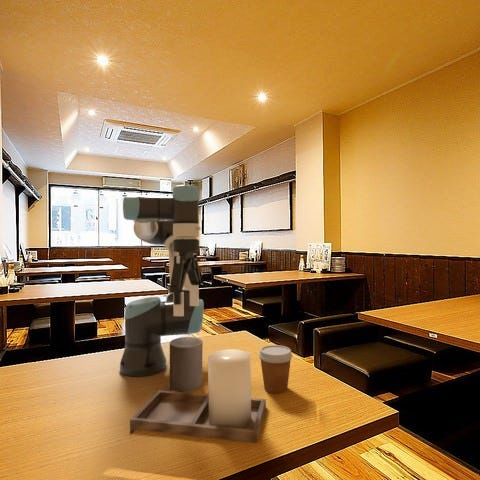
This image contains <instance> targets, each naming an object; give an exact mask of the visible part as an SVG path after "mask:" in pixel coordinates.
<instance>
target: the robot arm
mask: <svg viewBox="0 0 480 480" xmlns="http://www.w3.org/2000/svg"><path fill="white" fill-rule="evenodd" d="M199 199H200V196H199V188H198V187H197V186H196V185H192V184H191V185H190V184H180V185H179V184H178V185H175V186H173V188H172V195H171V196H167V195H166V196H160V195H159V196H156V195H154V196H153V195H135V194H134V195H126V196H124V197H123V199H122V214H123V218H124V219H125V220H127V221H133V232H134V235H135V236H136V237H137V238H138V239H139V240H141V241H142V242H144V243H146V244H150V245H154V246H163V245H164V248H165V249H166V250H167V251H168V264H169V265H168V267H169V270H168V271H169V294H168V295H167V297H166V299H165V300H164V301H161V298H160V297H158V296H152V297H151V296H150V297H143V298H140V299H136V300H132V301H130V302H128V303H127V304H126V306H125V309H124V316H123V317H124V328H125V329H124V335H125V336H124V339H125V340H124V349H123V352H122V357H121V359H120V362H119V363H120V364H119V372H120V373H121V374H122V375H124V376H126V377H127V376H128V377H146V376H150V375H151V376H152V375H155V374H157V373H161V371H163V370H165V369H166V367H167V357H166V355H165V352H164V350H163V346H162V339H161V337H165V336H166V337H168V336H179V335H180V336H181V335H191V334H197V333H200V332H201V330H202V329H203V323H204V322H203V320H204V309H205V307H204V306H205V305H204V304H205V303H204V300H203V299H201V298H200V296H199V294H200V289H199V287H200V285H202V279H201V272H200V266H199V259H198V253H197V252H200V240H199V239H198V238H199V236H200V231H201V226H200V222H199V221H200V219H199V216H200V215H199V214H200V213H199V211H200V210H199V209H200V208H199V205H200V200H199Z"/></svg>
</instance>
